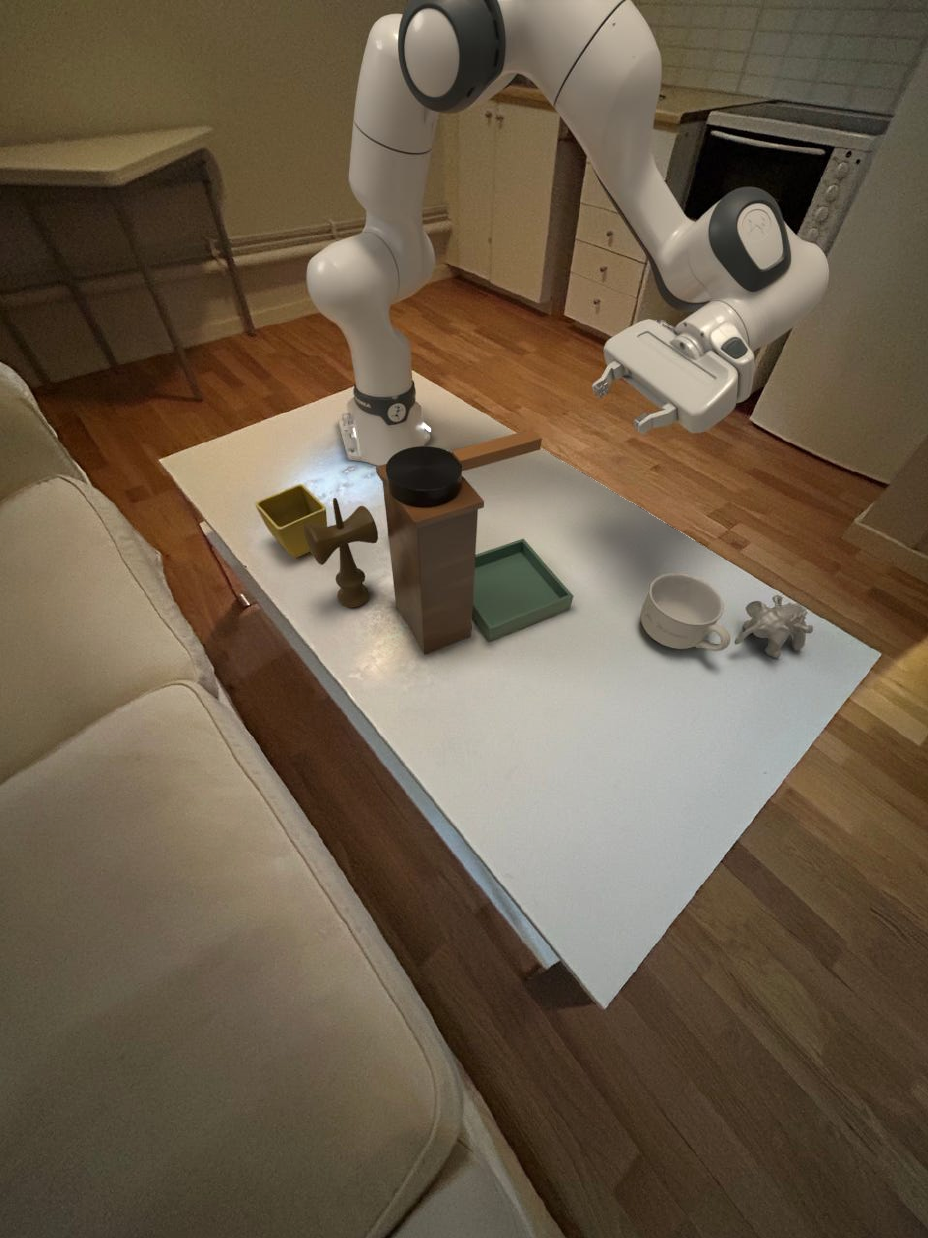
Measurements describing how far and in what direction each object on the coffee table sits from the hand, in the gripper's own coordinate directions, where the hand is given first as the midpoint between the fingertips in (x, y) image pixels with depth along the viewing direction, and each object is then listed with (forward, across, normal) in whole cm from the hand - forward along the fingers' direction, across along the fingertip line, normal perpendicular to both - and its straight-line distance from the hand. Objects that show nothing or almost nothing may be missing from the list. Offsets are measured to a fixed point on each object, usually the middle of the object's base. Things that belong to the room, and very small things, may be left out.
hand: (615, 409), depth 72 cm
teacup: (+8, +20, +28) cm, 36 cm away
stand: (+37, +2, +14) cm, 40 cm away
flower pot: (+51, -24, +9) cm, 57 cm away
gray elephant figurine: (-3, +27, +33) cm, 43 cm away
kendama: (+46, -8, +10) cm, 48 cm away
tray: (+25, +1, +20) cm, 32 cm away
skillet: (+21, +1, -7) cm, 22 cm away
